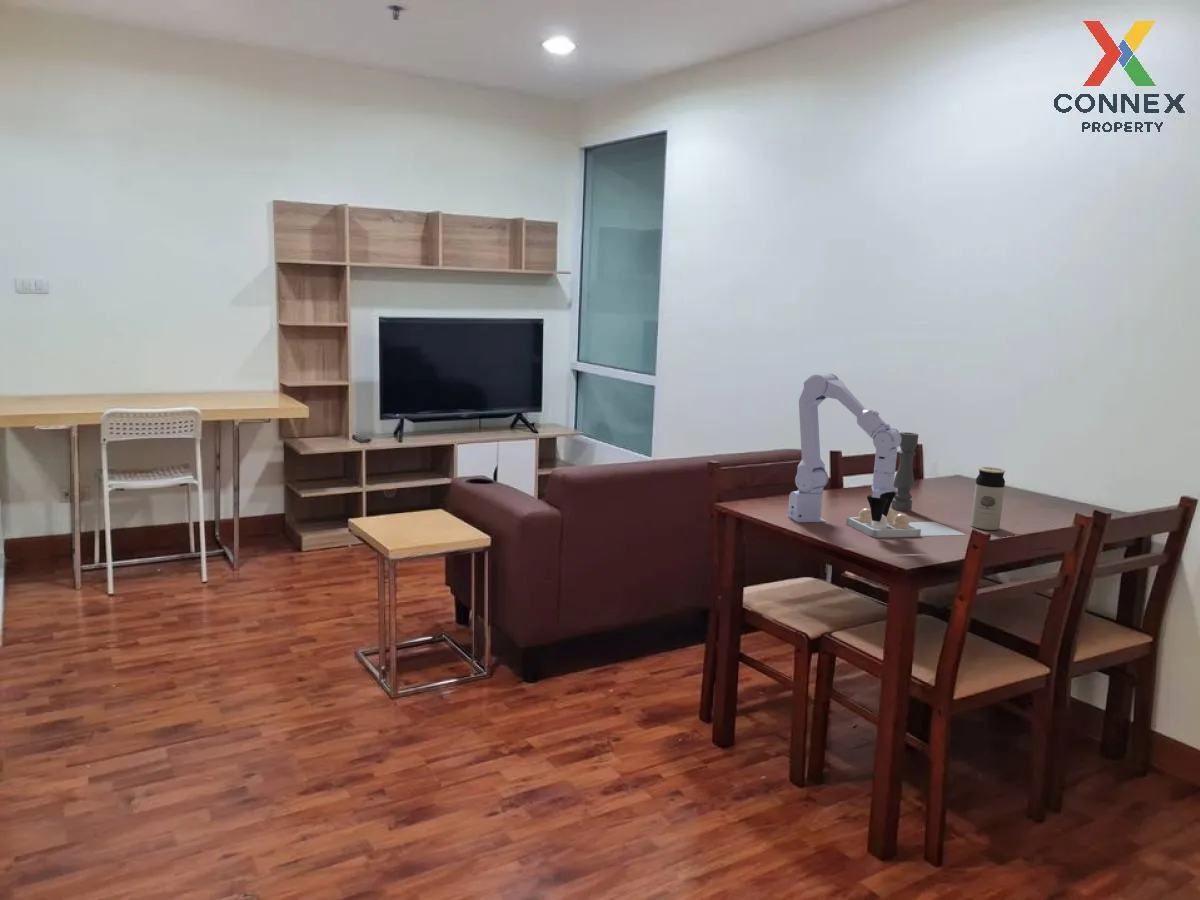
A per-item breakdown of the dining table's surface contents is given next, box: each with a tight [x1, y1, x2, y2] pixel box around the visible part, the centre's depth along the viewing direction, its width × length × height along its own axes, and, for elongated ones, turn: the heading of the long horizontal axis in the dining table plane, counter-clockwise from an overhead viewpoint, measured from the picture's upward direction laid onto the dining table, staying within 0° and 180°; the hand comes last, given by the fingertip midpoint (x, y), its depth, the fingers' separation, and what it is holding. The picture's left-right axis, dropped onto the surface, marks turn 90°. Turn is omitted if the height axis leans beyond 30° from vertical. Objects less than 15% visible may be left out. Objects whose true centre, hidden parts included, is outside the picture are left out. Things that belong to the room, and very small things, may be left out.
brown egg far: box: [886, 507, 896, 523], centre depth 266 cm, size 4×4×6 cm
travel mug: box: [970, 466, 1006, 531], centre depth 271 cm, size 8×8×18 cm
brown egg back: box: [893, 512, 910, 529], centre depth 259 cm, size 4×4×6 cm
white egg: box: [871, 514, 887, 529], centre depth 257 cm, size 4×4×6 cm
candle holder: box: [890, 431, 919, 512], centre depth 289 cm, size 6×6×25 cm
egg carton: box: [845, 516, 967, 538], centre depth 264 cm, size 30×15×2 cm, turn 104°
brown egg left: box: [858, 507, 872, 523], centre depth 264 cm, size 4×4×6 cm
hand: (879, 518), depth 257 cm, fingers open, 7 cm apart
